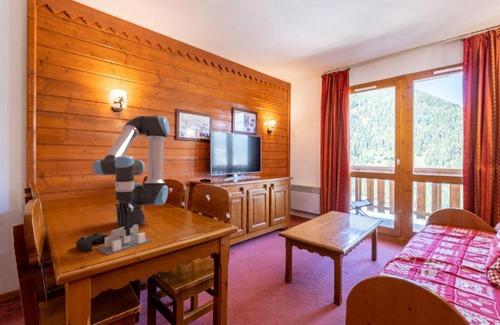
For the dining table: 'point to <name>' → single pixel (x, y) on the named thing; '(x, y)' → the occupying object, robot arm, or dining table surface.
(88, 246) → the gaming controller
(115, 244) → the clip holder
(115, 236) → the cassette
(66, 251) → the dining table surface
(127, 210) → the robot arm
